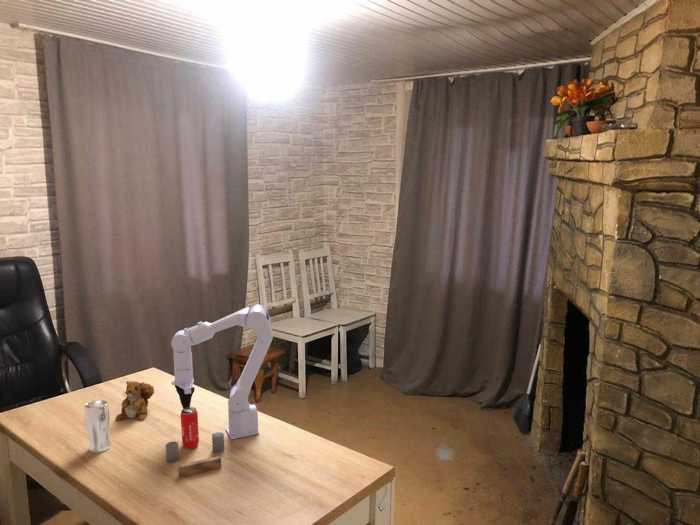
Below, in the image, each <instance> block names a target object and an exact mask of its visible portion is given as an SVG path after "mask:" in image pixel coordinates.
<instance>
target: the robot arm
mask: <svg viewBox="0 0 700 525" xmlns="http://www.w3.org/2000/svg"><path fill="white" fill-rule="evenodd" d="M271 323H272V322H271V317H270V314H269V312H268V310H267V308H266V307H265V306H264V305H262V304H253V305H251V306H248V307H244V308H241V309H240V310H238V311H236V312H233V313H231V314H229V315H226V316H224V317H222V318H219V319H217V320H216V321H213V322H208V321H204V322H202V320H200V321H199V322H197V325H194V326H190V327H185V328H184V329H181V330H179V331H177V332H176V333H175V334H174V335H173V337H172V338H171V342H170V344H171V348H172V349H173V369H174V380H171V382H170V383H171V386H174V387H175V390H176V393H177V395H178V397H179V401H180V405H181V407H182V410H183V409H184V408H188V407H191V402H192V398H193V397H192V396H193V395H194V393H195V389H196V388H195V387H194V386H193V384H194V382H195V379H194V372H193V371H194V369H193V354H192V346H195V345H198V344H200V343H201V344H202V343H203V342H206V341H208V340H210V339H212V338H213V337H214V335H215V333H218V332H221V331H223V330H226V329H227V330H228V329H229V328H233V327H235V326H240V327H241V328H246V327H247V328H249V329H250V330H251V331H252V332H253V333H254V334H255V336H256V341H255V343H254V344H253V348H252V350H251V352H250V354H249V357H248V359H247V362H246V364H245V366H244V368H243V370H242V372H241V375H240V377H239V378H238V380H237V382H236V383H235V384H234V385H233V386H232V387H231V388H230V393H229V399H228V402H227V411H228V427H226V428H225V430H226V433H227V435H228V436H229V438H230V440H236V439H240V438H245V437H250V436H253V435H258V434H260V432H259V417H258V416H259V415H258V408H257V406H256V404H250V402H249V400H248V399H249V395H250V393H251V389H252V385H253V383H254V382H255V379H256V377H257V375H258V372H259V371H260V368H261V366H262V364H263V362H264V359H265V357H266V355H267V353H268V350H269V348H270V346H271V344H272V341H273V338H274V333H273V328H272V324H271Z"/></svg>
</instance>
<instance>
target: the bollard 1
mask: <svg viewBox="0 0 700 525" xmlns="http://www.w3.org/2000/svg"><path fill="white" fill-rule="evenodd" d="M165 454H166V455H165V456H166V457H165V458H166V462H167V463H170V464H172V463H176V462H178V461H179V459H180V455H179V443H178V442H177V441H169V442H167V443H166V444H165Z"/></svg>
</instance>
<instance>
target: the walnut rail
mask: <svg viewBox="0 0 700 525" xmlns="http://www.w3.org/2000/svg"><path fill="white" fill-rule="evenodd" d="M177 468H178V476H179V477H180V478H182V477H185V476H190V475H191V476H192V475H195V474H199V473H204V472H208V471H212V470H217V469H220V468H222V458H221V456H220V455H218V456H217V455H216V456H214V457H213V456H212V457H209V458H203V459H200V460H197V461H191V462H187V463H182V464H178V467H177Z"/></svg>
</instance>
